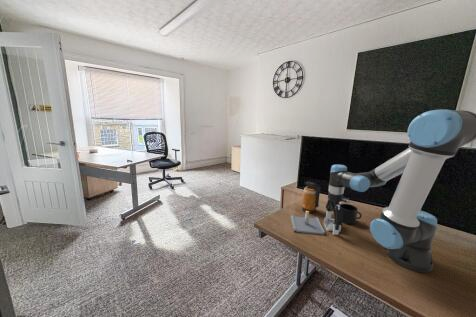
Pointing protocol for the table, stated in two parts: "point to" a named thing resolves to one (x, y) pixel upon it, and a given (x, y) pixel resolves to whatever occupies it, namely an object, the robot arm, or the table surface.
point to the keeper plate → (305, 227)
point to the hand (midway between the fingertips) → (331, 227)
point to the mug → (349, 213)
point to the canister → (311, 197)
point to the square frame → (330, 224)
